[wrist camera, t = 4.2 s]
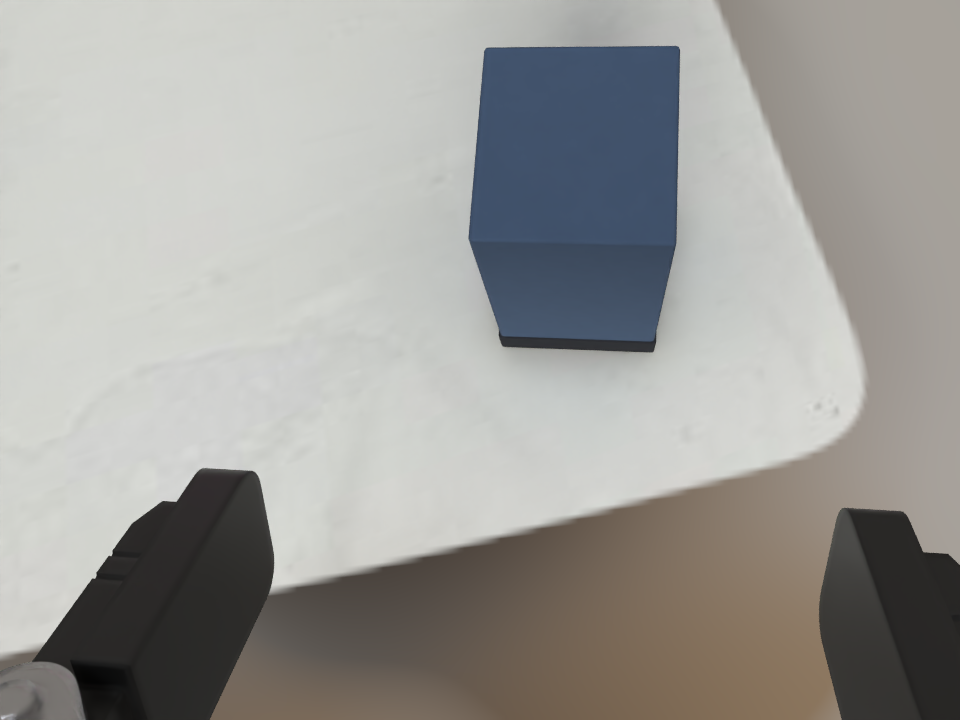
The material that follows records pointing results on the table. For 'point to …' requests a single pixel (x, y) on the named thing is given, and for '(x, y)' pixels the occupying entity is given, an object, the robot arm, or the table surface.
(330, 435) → the table surface
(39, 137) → the table surface
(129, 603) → the robot arm
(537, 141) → the blue rectangular block
